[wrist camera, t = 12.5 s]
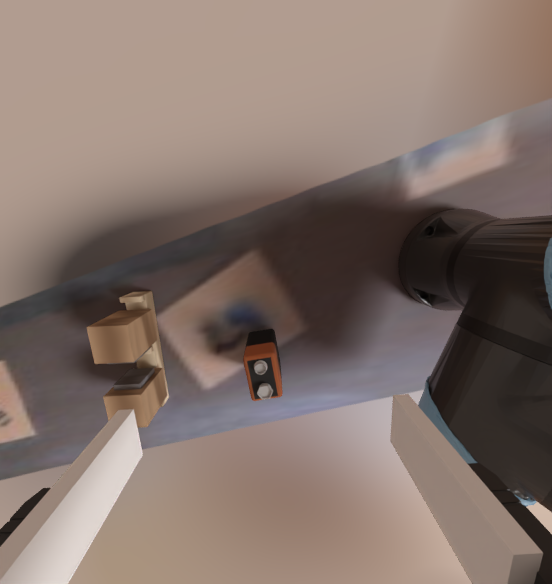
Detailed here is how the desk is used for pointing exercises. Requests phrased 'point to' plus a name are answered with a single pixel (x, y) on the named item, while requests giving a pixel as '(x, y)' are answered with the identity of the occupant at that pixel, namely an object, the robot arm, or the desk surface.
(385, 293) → the desk surface
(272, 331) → the battery
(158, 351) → the rail
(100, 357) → the cardboard box
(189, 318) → the desk surface
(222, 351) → the desk surface
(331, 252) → the desk surface
